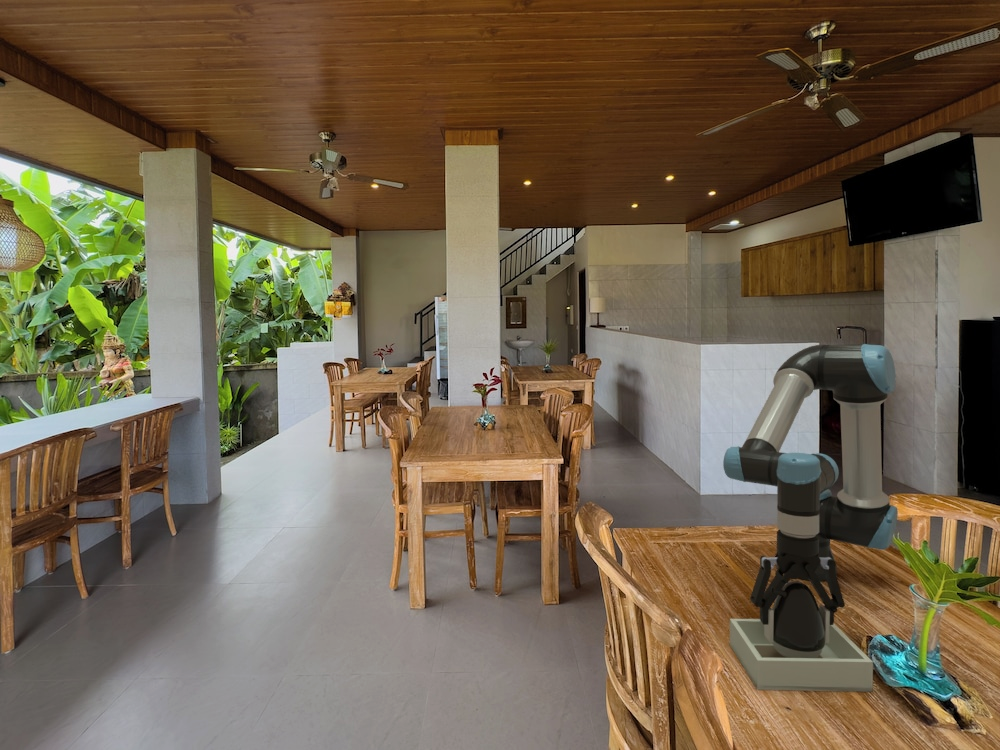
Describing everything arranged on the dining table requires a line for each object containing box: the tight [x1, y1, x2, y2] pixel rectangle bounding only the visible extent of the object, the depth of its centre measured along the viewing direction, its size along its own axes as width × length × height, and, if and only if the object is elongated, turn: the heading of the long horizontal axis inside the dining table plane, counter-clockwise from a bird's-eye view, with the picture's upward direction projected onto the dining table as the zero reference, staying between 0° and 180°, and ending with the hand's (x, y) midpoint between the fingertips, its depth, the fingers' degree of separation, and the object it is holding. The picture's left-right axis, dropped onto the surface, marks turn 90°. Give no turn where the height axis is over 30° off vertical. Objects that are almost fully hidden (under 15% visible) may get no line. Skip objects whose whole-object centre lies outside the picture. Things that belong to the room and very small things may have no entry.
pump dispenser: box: [771, 580, 825, 658], centre depth 116 cm, size 10×10×15 cm
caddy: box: [729, 618, 874, 693], centre depth 117 cm, size 21×16×6 cm
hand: (796, 639), depth 117 cm, fingers closed on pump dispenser, 10 cm apart
